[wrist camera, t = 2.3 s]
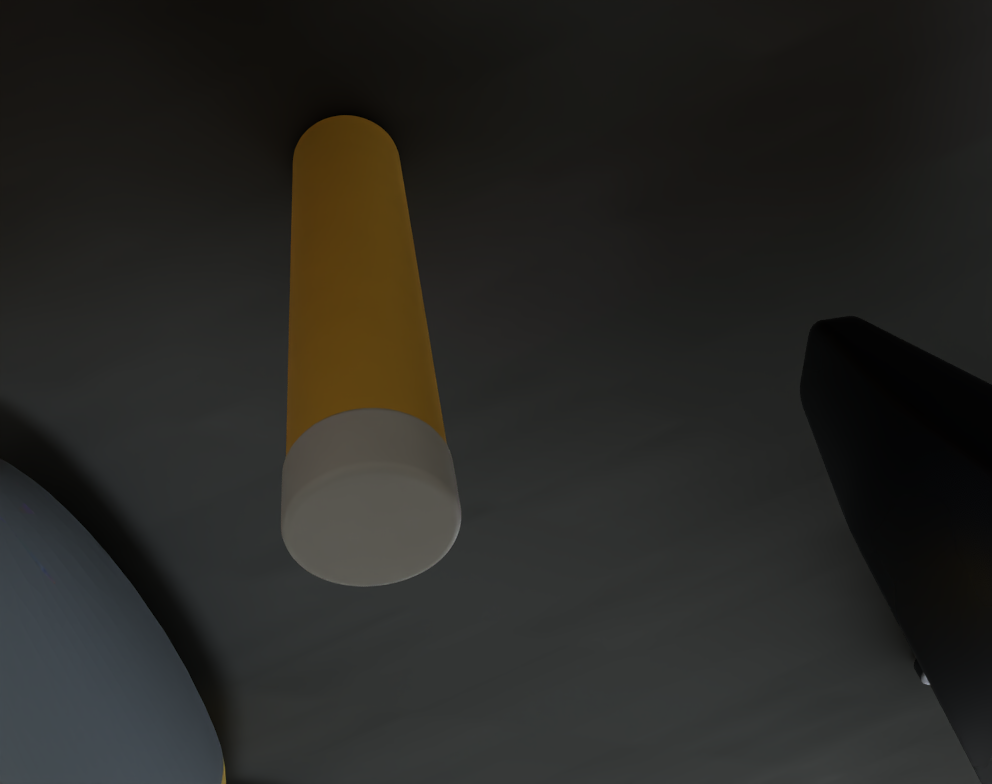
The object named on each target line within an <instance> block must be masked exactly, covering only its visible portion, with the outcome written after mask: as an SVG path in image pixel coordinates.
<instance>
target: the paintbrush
mask: <svg viewBox="0 0 992 784" xmlns="http://www.w3.org/2000/svg"><path fill="white" fill-rule="evenodd" d="M0 784H226V776H225V765H224V759H223V754H222V749H221V745H220V742H219V739H218V737H217V734H216V731H215V728H214V726H213V724H212V721H211V719H210V717H209V714H208V712H207V710H206V707H205V705H204V703H203V701H202V699H201V697H200V695H199V693H198V691H197V689H196V687H195V685H194V683H193V681H192V679H191V677H190V675H189V673H188V671H187V669H186V667H185V665H184V664H183V662H182V660H181V659H180V657H179V655H178V654H177V652H176V650H175V648H174V647H173V645H172V643H171V642H170V640H169V638H168V636H167V635H166V633H165V631H164V630H163V628H162V627H161V626H160V624H159V623H158V621H157V620H156V618H155V617H154V615H153V614H152V612H151V611H150V610H149V608H148V607H147V605H146V604H145V602H144V601H143V599H142V598H141V596H140V595H139V594H138V592H137V591H136V589H135V588H134V586H133V585H132V584H131V582H130V581H129V580H128V579H127V577H126V576H125V575H124V574H123V572H122V571H121V570H120V569H119V567H118V566H117V565H116V564H115V562H114V561H113V560H112V559H111V557H110V556H109V555H108V554H107V552H106V551H105V550H104V549H103V548H102V547H101V545H100V544H99V543H98V542H97V541H96V540H95V539H94V538H93V536H92V535H91V534H90V533H89V532H88V531H87V530H86V529H85V528H84V526H83V525H82V524H81V523H80V522H79V521H78V520H77V519H76V518H75V517H74V516H73V515H72V514H71V513H70V512H69V511H68V510H67V509H66V508H65V507H64V506H63V505H62V504H61V503H59V502H58V501H57V500H56V499H55V498H54V497H53V496H52V495H51V494H50V493H49V492H48V491H46V490H45V489H44V488H43V487H41V486H40V485H39V484H38V483H36V482H35V481H34V480H33V479H31V478H30V477H28V476H27V475H25V474H24V473H22V472H21V471H20V470H18V469H17V468H15V467H14V466H12V465H11V464H9V463H7V462H6V461H4V460H2V459H0Z"/></svg>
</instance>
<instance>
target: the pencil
mask: <svg viewBox="0 0 992 784" xmlns="http://www.w3.org/2000/svg"><path fill="white" fill-rule="evenodd" d="M460 526H461V507H460V501H459V495H458V489H457V483H456V477H455V471H454V465H453V460H452V456H451V452H450V450H449V448H448V446H447V443H446V437H445V430H444V424H443V418H442V412H441V406H440V400H439V394H438V388H437V382H436V376H435V370H434V364H433V358H432V352H431V346H430V339H429V333H428V327H427V321H426V315H425V309H424V303H423V297H422V291H421V285H420V279H419V273H418V267H417V261H416V254H415V248H414V242H413V236H412V230H411V224H410V218H409V212H408V206H407V200H406V194H405V188H404V182H403V176H402V170H401V163H400V158H399V153H398V150H397V148H396V145H395V143H394V142H393V140H392V139H391V137H390V136H389V135H388V134H387V133H386V131H385V130H384V129H382V128H381V127H380V126H378V125H377V124H375V123H374V122H372V121H369V120H367V119H365V118H361V117H357V116H352V115H339V116H333V117H329V118H326V119H323V120H321V121H319V122H317V123H316V124H314V125H313V126H311V127H310V128H309V129H308V130H307V131H306V132H305V133H304V134H303V135H302V137H301V138H300V140H299V141H298V143H297V146H296V148H295V151H294V156H293V179H292V222H291V265H290V308H289V351H288V394H287V437H286V458H285V461H284V464H283V471H282V500H281V533H282V538H283V541H284V543H285V545H286V548H287V549H288V551H289V553H290V554H291V555H292V557H293V558H294V560H295V561H296V562H297V563H298V564H299V565H300V566H302V567H303V568H304V569H305V570H307V571H308V572H310V573H312V574H313V575H315V576H317V577H320V578H322V579H324V580H327V581H330V582H334V583H338V584H343V585H350V586H379V585H386V584H391V583H396V582H399V581H403V580H406V579H409V578H411V577H414V576H416V575H418V574H420V573H422V572H424V571H426V570H427V569H429V568H430V567H432V566H433V565H435V564H436V563H437V562H438V561H440V560H441V559H442V558H443V557H444V556H445V555H446V554H447V552H448V551H449V550H450V548H451V547H452V545H453V543H454V542H455V540H456V537H457V535H458V532H459V529H460Z"/></svg>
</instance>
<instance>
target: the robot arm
mask: <svg viewBox="0 0 992 784" xmlns="http://www.w3.org/2000/svg"><path fill="white" fill-rule="evenodd" d="M800 394H801V401H802V405H803V408H804V411H805V414H806V416H807V419H808V422H809V424H810V427H811V429H812V432H813V435H814V437H815V440H816V443H817V445H818V448H819V451H820V453H821V456H822V459H823V461H824V464H825V467H826V469H827V472H828V475H829V477H830V480H831V483H832V485H833V488H834V490H835V493H836V496H837V498H838V501H839V504H840V506H841V509H842V512H843V514H844V516H845V519H846V521H847V524H848V526H849V529H850V531H851V533H852V535H853V537H854V539H855V541H856V543H857V545H858V547H859V549H860V551H861V553H862V555H863V557H864V559H865V561H866V563H867V565H868V567H869V569H870V571H871V573H872V574H873V576H874V578H875V580H876V582H877V584H878V586H879V588H880V590H881V592H882V594H883V595H884V597H885V599H886V601H887V603H888V605H889V607H890V609H891V611H892V613H893V615H894V617H895V618H896V620H897V622H898V624H899V626H900V628H901V630H902V632H903V634H904V636H905V638H906V640H907V641H908V643H909V645H910V647H911V649H912V651H913V653H914V655H915V657H916V660H915V662H914V668H915V670H916V672H917V674H918V676H919V677H920V679H921V681H922V682H923V683H924V684H928V685H930V686H931V687H932V689H933V691H934V693H935V695H936V697H937V699H938V701H939V703H940V705H941V707H942V708H943V710H944V712H945V714H946V716H947V718H948V720H949V722H950V724H951V726H952V728H953V730H954V731H955V733H956V735H957V737H958V739H959V741H960V743H961V745H962V747H963V749H964V751H965V753H966V754H967V756H968V758H969V760H970V762H971V764H972V766H973V768H974V770H975V772H976V774H977V776H978V777H979V779H980V781H981V783H982V784H992V385H991V384H989V383H987V382H985V381H983V380H981V379H979V378H977V377H975V376H973V375H971V374H969V373H967V372H965V371H964V370H962V369H960V368H958V367H956V366H954V365H952V364H950V363H948V362H946V361H944V360H942V359H940V358H938V357H936V356H934V355H932V354H930V353H928V352H926V351H924V350H922V349H920V348H918V347H916V346H914V345H912V344H910V343H908V342H906V341H904V340H902V339H900V338H898V337H896V336H894V335H892V334H890V333H888V332H886V331H884V330H882V329H880V328H879V327H877V326H875V325H873V324H871V323H869V322H867V321H865V320H863V319H860V318H858V317H855V316H846V317H839V318H833V319H827V320H820V321H818V322H816V323H815V324H814V325H813V326H812V328H811V329H810V332H809V336H808V342H807V347H806V353H805V359H804V365H803V371H802V376H801V383H800Z"/></svg>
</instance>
